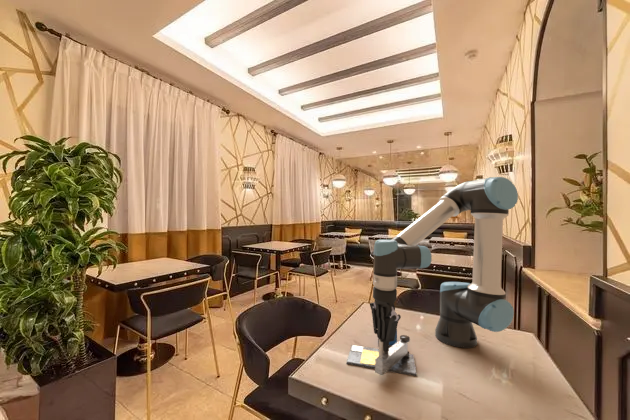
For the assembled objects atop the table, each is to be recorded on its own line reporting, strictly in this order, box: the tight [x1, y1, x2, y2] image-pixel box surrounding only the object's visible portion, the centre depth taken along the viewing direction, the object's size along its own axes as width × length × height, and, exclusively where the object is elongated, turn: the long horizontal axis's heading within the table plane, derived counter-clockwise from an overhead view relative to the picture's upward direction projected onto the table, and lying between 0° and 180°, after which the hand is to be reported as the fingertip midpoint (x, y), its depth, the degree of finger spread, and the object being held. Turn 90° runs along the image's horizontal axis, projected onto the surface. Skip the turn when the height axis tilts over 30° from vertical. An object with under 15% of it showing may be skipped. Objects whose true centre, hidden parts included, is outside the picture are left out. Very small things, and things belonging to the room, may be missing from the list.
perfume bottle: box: [389, 328, 398, 347], centre depth 104 cm, size 6×6×12 cm
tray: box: [346, 344, 418, 377], centre depth 90 cm, size 22×12×2 cm, turn 74°
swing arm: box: [374, 334, 411, 376], centre depth 86 cm, size 20×3×5 cm, turn 137°
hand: (383, 359), depth 85 cm, fingers closed
